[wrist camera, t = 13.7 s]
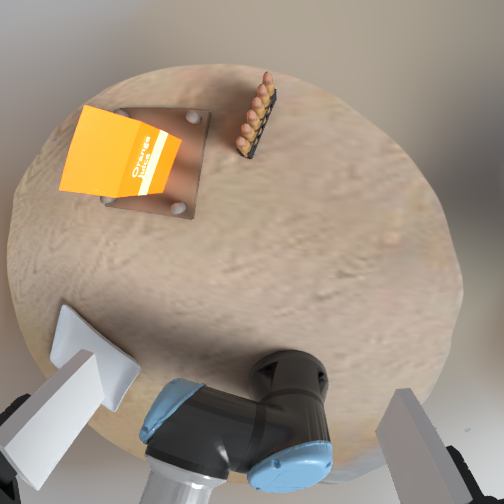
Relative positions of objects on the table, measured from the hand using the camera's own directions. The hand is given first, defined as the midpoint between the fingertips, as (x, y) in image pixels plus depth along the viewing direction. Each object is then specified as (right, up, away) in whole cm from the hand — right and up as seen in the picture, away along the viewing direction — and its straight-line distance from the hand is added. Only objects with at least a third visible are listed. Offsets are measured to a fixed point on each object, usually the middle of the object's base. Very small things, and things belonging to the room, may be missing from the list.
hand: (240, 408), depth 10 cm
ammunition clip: (+1, +25, +30) cm, 39 cm away
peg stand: (-15, +21, +32) cm, 41 cm away
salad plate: (-35, -17, +43) cm, 58 cm away
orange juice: (-15, +21, +30) cm, 40 cm away
